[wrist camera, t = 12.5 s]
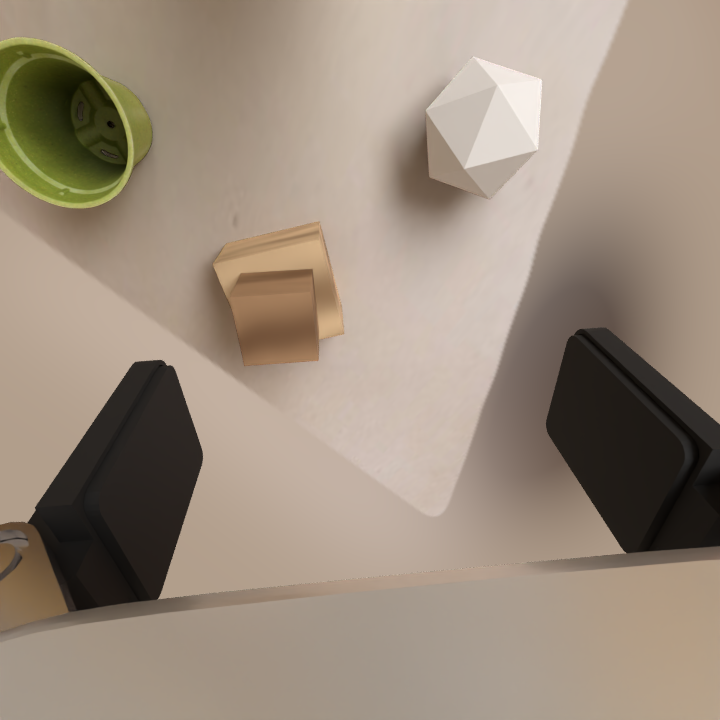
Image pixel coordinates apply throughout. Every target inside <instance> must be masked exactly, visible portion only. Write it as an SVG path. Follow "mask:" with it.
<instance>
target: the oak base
mask: <svg viewBox="0 0 720 720" xmlns="http://www.w3.org/2000/svg"><path fill="white" fill-rule="evenodd" d="M213 267H214V269H215V272H216V274H217V276H218V279H219V281H220V284H221V286H222V288H223V291H224V293H225V296H226V298H227V300H228V303H229V305H230V307H231V303H230V299H229V297H230V295H231V293H232V291H233V288H234V286H235V284H236V282H237V280H238V278H239V276H240V274H241V273H252V272H268V271H284V270H300V269H313V277H314V287H315V296H316V306H317V316H318V326H319V340H320V339H324V338H329V337H333V336H338V335H342V334H344V326H343V314H342V306H341V302H340V298H339V294H338V290H337V287H336V283H335V279H334V275H333V271H332V267H331V264H330V260H329V256H328V252H327V248H326V245H325V241H324V237H323V233H322V229H321V225H320V222H314V223H310V224H306V225H302V226H298V227H293V228H289V229H285V230H281V231H277V232H273V233H268V234H264V235H260V236H256V237H252V238H247V239H243V240H239V241H235V242H231V243H226V245H225V246H224V248H223V249H222V251H221V252H220V254H219V255H218V257H217V258H216V260H215V261H214V263H213ZM231 310H232V308H231Z"/></svg>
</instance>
